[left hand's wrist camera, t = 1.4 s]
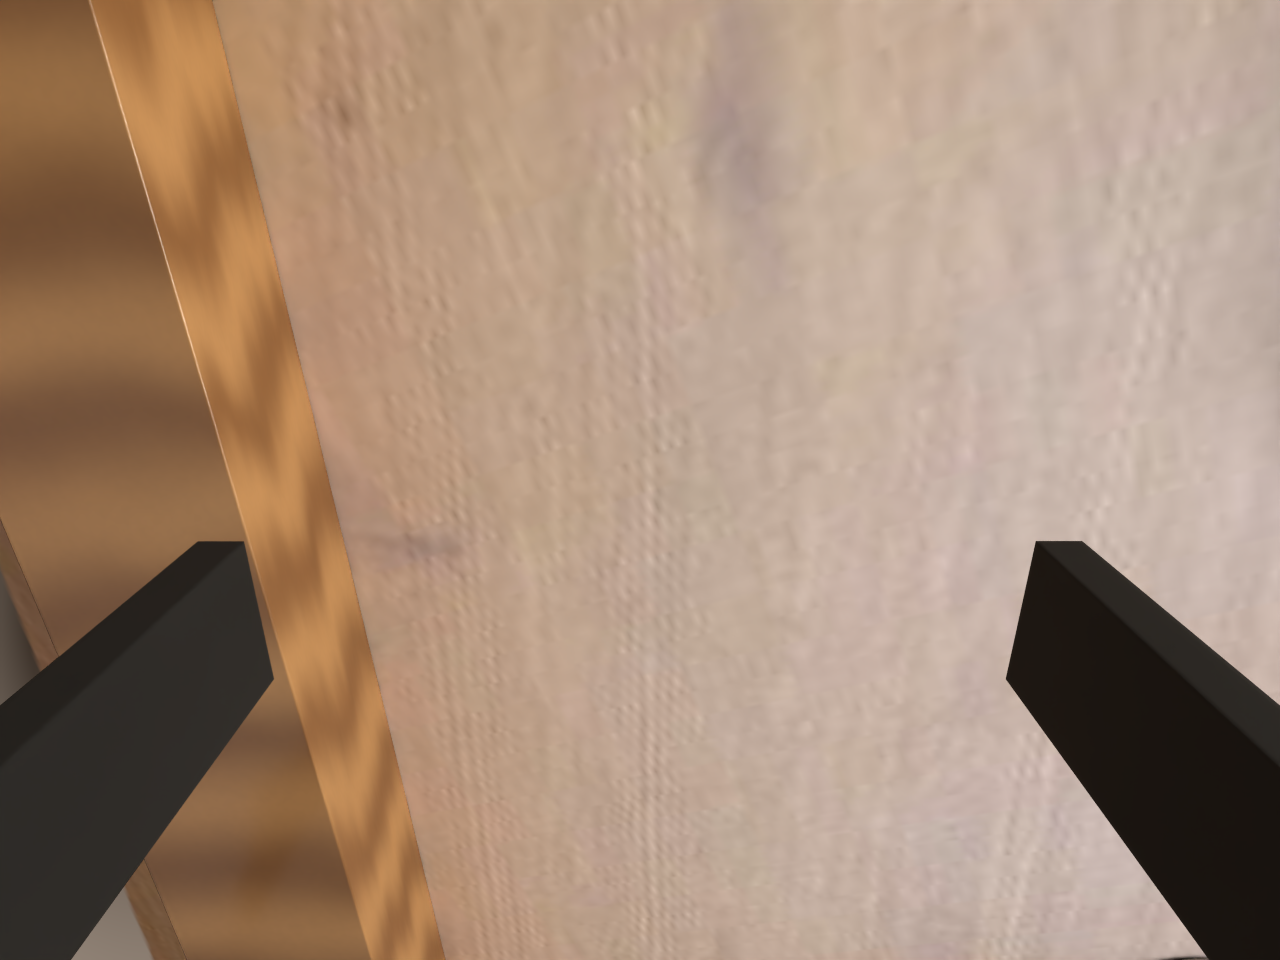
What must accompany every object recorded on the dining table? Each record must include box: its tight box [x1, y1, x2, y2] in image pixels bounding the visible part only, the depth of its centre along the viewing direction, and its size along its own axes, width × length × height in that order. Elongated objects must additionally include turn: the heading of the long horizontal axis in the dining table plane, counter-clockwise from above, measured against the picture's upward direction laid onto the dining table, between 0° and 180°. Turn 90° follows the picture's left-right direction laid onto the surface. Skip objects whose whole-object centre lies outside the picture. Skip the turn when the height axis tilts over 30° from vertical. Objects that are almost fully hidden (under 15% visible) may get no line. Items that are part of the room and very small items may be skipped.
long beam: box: [0, 0, 445, 960], centre depth 33 cm, size 64×9×8 cm, turn 4°
